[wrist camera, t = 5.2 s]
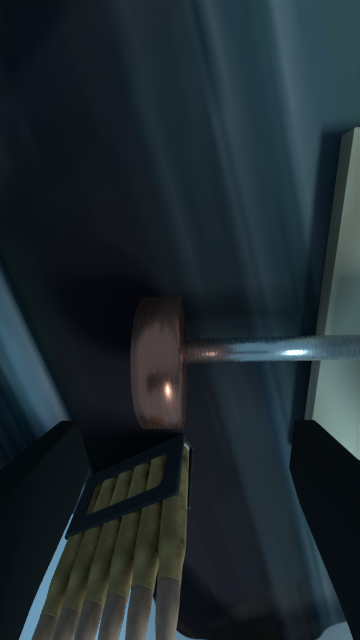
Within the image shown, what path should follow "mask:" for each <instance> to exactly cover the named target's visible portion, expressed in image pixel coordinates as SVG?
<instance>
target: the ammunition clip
mask: <svg viewBox="0 0 360 640" xmlns="http://www.w3.org/2000/svg"><path fill="white" fill-rule="evenodd" d="M193 457H194V447H193V446H192V445H191V444H190V442H189V441H188V440H187V439H186V437H185V436H184V435H183V434H181V435H179V436H177V437H174V438H172V439H170V440H168V441H166V442H163V443H161V444H159V445H157V446H155V447H153V448H150V449H148V450H146V451H144V452H142V453H140V454H137V455H135V456H133V457H131V458H129V459H126V460H124V461H122V462H120V463H118V464H116V465H113V466H111V467H109V468H107V469H105V470H103V471H100V472H98V473H96V474H94V475H92V476H90V477H89V478H88V481H87V483H86V485H85V488H84V490H83V493H82V495H81V498H80V500H79V503H78V505H77V508H76V510H75V513H74V515H73V518H72V520H71V523H70V525H69V527H68V530H67V532H66V535H65V539H66V540H68V541H67V543H66V546H65V548H64V551H63V553H62V555H61V558H60V560H59V563H58V565H57V568H56V570H55V573H54V575H53V578H52V580H51V583H50V587H49V591H48V594H47V598H46V601H45V604H44V606H43V609H42V612H41V615H40V619H39V621H38V624H37V627H36V629H35V632H34V634H33V637H32V640H73V637H74V640H94V639H95V636H96V633H97V630H98V626H99V622H100V619H101V623H100V629H99V635H98V640H118V639H119V635H120V631H121V627H122V623H123V619H124V614H125V608H126V603H127V601H128V597H129V592H130V587H131V595H130V601H129V607H128V614H127V623H126V636H125V640H145V636H146V633H147V628H148V622H149V617H150V611H151V604H152V596H153V593H154V586H155V579H156V574H157V570H158V587H157V597H156V619H155V624H156V640H174V638H175V633H176V627H177V619H178V611H179V600H180V585H181V577H182V566H183V561H184V556H185V548H186V523H187V511H189V510H190V509H191V493H192V475H193ZM68 537H69V538H68ZM131 583H132V584H131ZM103 608H104V609H103ZM102 611H103V613H102ZM101 615H102V618H101ZM75 631H76V632H75ZM74 634H75V636H74Z"/></svg>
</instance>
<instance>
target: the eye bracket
mask: <svg viewBox="0 0 360 640" xmlns="http://www.w3.org/2000/svg"><path fill="white" fill-rule="evenodd" d="M346 334H360V127H356V128H353V129H352V130H350V131H349V132H347V133H345V134H344V135H342V137H341V145H340V153H339V160H338V168H337V175H336V183H335V190H334V198H333V206H332V213H331V221H330V228H329V236H328V243H327V251H326V259H325V266H324V274H323V281H322V289H321V296H320V304H319V312H318V319H317V327H316V334H315V335H346ZM304 420H315V421H316V422H318V423H319V424H320V425H321V426H322V427H323V428H324V429H325V430H326V431H327V432H329V433H330V434H331V435H332V436H333V437H334V438H335V439H336V440H337V441H338V442H339V443H341V444H342V445H343V446H344V447H345V448H346V449H347V450H348V451H349V452H351V453H352V454H353V455H354V456H355V457H356V458H357V459H358V460H360V359H354V360H312V365H311V372H310V380H309V387H308V395H307V403H306V410H305V418H304Z"/></svg>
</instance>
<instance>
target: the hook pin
mask: <svg viewBox="0 0 360 640" xmlns="http://www.w3.org/2000/svg"><path fill="white" fill-rule="evenodd" d="M354 359H360V334H346V335H313V336H280V337H247V338H214V339H186V329H185V316H184V307H183V301H182V297H181V296H167V297H144V298H142V299H141V300H140V302H139V303H138V306H137V309H136V312H135V317H134V322H133V328H132V338H131V358H130V366H131V388H132V397H133V404H134V409H135V414H136V417H137V420H138V423H139V425H140V426H141V427H142V428H143V429H184V428H185V425H186V414H187V363H224V362H267V361H311V360H354Z"/></svg>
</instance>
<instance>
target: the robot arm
mask: <svg viewBox="0 0 360 640" xmlns="http://www.w3.org/2000/svg"><path fill="white" fill-rule="evenodd" d="M88 468H89V461H88V457H87V453H86V449H85V445H84V441H83V437H82V433H81V429H80V425H79V421H61V422H59V423H58V424H57V425H55V426H54V427H53V428H52V429H50V430H49V431H48V432H47V433H45V434H44V435H43V436H42V437H40V438H39V439H38V440H37V441H36V442H34V443H33V444H32V445H31V446H29V447H28V448H27V449H26V450H25V451H23V452H22V453H21V454H20V455H18V456H17V457H16V458H15V459H13V460H12V461H11V462H10V463H8V464H7V465H6V466H5V467H3V468H2V469H1V470H0V640H19V637H20V635H21V632H22V630H23V627H24V624H25V621H26V619H27V616H28V613H29V611H30V608H31V606H32V603H33V601H34V598H35V596H36V594H37V591H38V589H39V586H40V584H41V582H42V580H43V577H44V575H45V573H46V571H47V569H48V566H49V564H50V562H51V560H52V557H53V555H54V553H55V551H56V549H57V546H58V544H59V542H60V540H61V537H62V535H63V533H64V530H65V529H66V526H67V524H68V522H69V520H70V517H71V515H72V513H73V511H74V508H75V506H76V504H77V501H78V499H79V496H80V493H81V490H82V487H83V484H84V481H85V478H86V475H87V472H88ZM289 468H290V472H291V475H292V479H293V482H294V486H295V489H296V493H297V496H298V499H299V502H300V505H301V508H302V510H303V513H304V515H305V518H306V520H307V523H308V525H309V528H310V530H311V533H312V535H313V538H314V540H315V543H316V545H317V548H318V550H319V552H320V555H321V557H322V560H323V562H324V565H325V567H326V570H327V572H328V575H329V577H330V579H331V582H332V584H333V587H334V589H335V592H336V594H337V597H338V599H339V602H340V604H341V607H342V610H343V612H344V615H345V618H346V620H347V623H348V626H349V628H350V631H351V634H352V637H353V640H360V461H359V460H358V459H357V458H356V457H355V456H354V455H353V454H352V453H351V452H349V451H348V450H347V449H346V448H345V447H344V446H343V445H342V444H341V443H339V442H338V441H337V440H336V439H335V438H334V437H333V436H332V435H331V434H330V433H329V432H327V431H326V430H325V429H324V428H323V427H322V426H321V425H320V424H319V423H318V422H316V421H315V420H295V422H294V431H293V440H292V448H291V457H290V466H289Z"/></svg>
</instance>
